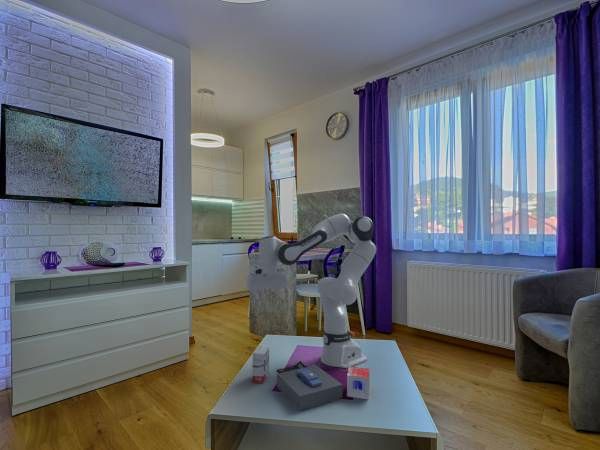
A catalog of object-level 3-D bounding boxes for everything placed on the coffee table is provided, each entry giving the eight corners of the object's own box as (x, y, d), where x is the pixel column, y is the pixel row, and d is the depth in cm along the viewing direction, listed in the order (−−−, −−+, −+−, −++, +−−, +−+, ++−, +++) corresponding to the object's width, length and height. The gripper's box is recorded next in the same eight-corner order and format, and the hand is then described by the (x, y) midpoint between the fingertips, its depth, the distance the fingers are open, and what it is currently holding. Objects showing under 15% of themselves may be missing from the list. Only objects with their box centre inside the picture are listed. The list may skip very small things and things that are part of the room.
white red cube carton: (369, 389, 123) (369, 368, 123) (368, 399, 115) (368, 377, 115) (348, 386, 125) (348, 366, 125) (346, 396, 117) (346, 375, 117)
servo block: (304, 383, 126) (304, 364, 126) (322, 399, 115) (322, 378, 115) (296, 386, 124) (296, 366, 124) (312, 401, 113) (312, 380, 113)
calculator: (276, 371, 138) (276, 364, 138) (301, 367, 142) (301, 360, 142) (283, 380, 129) (283, 373, 129) (309, 376, 133) (309, 369, 133)
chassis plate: (315, 376, 132) (315, 364, 132) (342, 398, 116) (342, 384, 116) (276, 386, 124) (276, 373, 124) (299, 411, 107) (299, 396, 107)
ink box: (263, 383, 126) (263, 354, 126) (251, 382, 127) (252, 353, 127) (269, 374, 134) (269, 346, 134) (258, 373, 135) (259, 345, 135)
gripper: (284, 267, 160) (283, 294, 159) (245, 269, 150) (245, 298, 150) (289, 268, 154) (289, 297, 154) (250, 271, 144) (249, 301, 144)
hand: (267, 297), depth 152 cm, fingers open, 8 cm apart
